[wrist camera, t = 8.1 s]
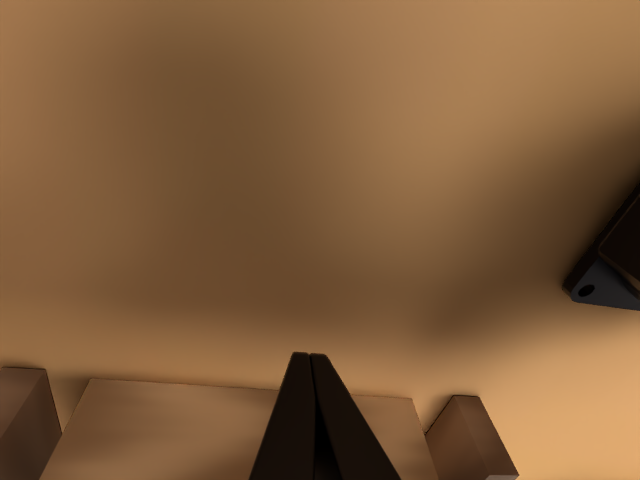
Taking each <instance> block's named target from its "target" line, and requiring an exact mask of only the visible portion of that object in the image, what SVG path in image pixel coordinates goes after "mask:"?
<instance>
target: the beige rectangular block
mask: <svg viewBox="0 0 640 480" xmlns="http://www.w3.org/2000/svg"><path fill="white" fill-rule="evenodd" d="M278 393H279V390H265V389H249V388H234V387H218V386H202V385H186V384H171V383H155V382H139V381H124V380H108V379H92V378H91V379H90V381H89V383H88V385H87V387H86V389H85V391H84V393H83V395H82V397H81V399H80V401H79V403H78V405H77V406H76V408H75V410H74V412H73V414H72V416H71V418H70V420H69V422H68V424H67V426H66V428H65V430H64V432H63V434H62V436H61V438H60V440H59V442H58V444H57V446H56V448H55V450H54V451H53V453H52V455H51V457H50V459H49V461H48V463H47V465H46V467H45V469H44V471H43V473H42V475H41V477H40V479H39V480H248V478H249V475H250V472H251V470H252V467H253V464H254V461H255V458H256V455H257V452H258V450H259V447H260V444H261V441H262V438H263V435H264V432H265V430H266V427H267V424H268V421H269V418H270V415H271V413H272V410H273V407H274V404H275V401H276V398H277V395H278ZM351 397H352V398H353V400H354V401H355V403H356V405H357V406H358V408H359V410H360V411H361V413H362V415H363V416H364V418H365V420H366V421H367V423H368V425H369V426H370V428H371V429H372V431H373V433H374V434H375V436H376V438H377V439H378V441H379V443H380V444H381V446H382V448H383V449H384V451H385V453H386V454H387V456H388V458H389V459H390V461H391V462H392V464H393V466H394V467H395V469H396V471H397V472H398V474H399V476H400V477H401V479H402V480H439V478H438V475H437V472H436V469H435V466H434V463H433V460H432V457H431V454H430V451H429V448H428V445H427V442H426V439H425V436H424V433H423V430H422V427H421V424H420V421H419V418H418V415H417V412H416V409H415V406H414V403H413V400H412V399H406V398H391V397H375V396H359V395H351Z"/></svg>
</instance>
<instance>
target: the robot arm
mask: <svg viewBox="0 0 640 480" xmlns="http://www.w3.org/2000/svg"><path fill="white" fill-rule="evenodd" d="M562 290H563V291H564V293H565V294H566V295H567V296H568V297H569V298H570V299H571V300H572V301H574V302H578V303H585V304H592V305H600V306H607V307H615V308H622V309H630V310H637V311H640V183H639V185H638V186H637V187H636V188H635V190H634V191H633V192H632V194H631V195H630V196H629V198H628V199H627V200H626V201H625V203H624V204H623V205H622V207H621V208H620V209H619V211H618V212H617V213H616V214H615V216H614V217H613V218H612V220H611V221H610V222H609V224H608V225H607V226H606V227H605V229H604V230H603V231H602V233H601V234H600V235H599V237H598V238H597V239H596V240H595V242H594V243H593V244H592V246H591V247H590V248H589V250H588V251H587V252H586V253H585V255H584V256H583V257H582V259H581V260H580V261H579V263H578V264H577V265H576V266H575V268H574V269H573V270H572V272H571V273H570V274H569V276H568V277H567V278H566V279H565V281H564V283H563V285H562ZM248 480H402V479H401V477H400V476H399V474H398V472H397V471H396V469H395V467H394V466H393V464H392V462H391V461H390V459H389V458H388V456H387V454H386V453H385V451H384V449H383V448H382V446H381V444H380V443H379V441H378V439H377V438H376V436H375V434H374V433H373V431H372V429H371V428H370V426H369V425H368V423H367V421H366V420H365V418H364V416H363V415H362V413H361V411H360V410H359V408H358V406H357V405H356V403H355V401H354V400H353V398H352V397H351V395H350V393H349V392H348V390H347V388H346V387H345V385H344V383H343V382H342V380H341V378H340V377H339V375H338V373H337V372H336V370H335V369H334V367H333V365H332V364H331V362H330V360H329V359H328V357H327V356H326V355H325V354H320V353H310V354H308V353H306V352H293V353H292V356H291V358H290V361H289V364H288V367H287V370H286V373H285V375H284V378H283V381H282V384H281V387H280V390H279V393H278V395H277V398H276V401H275V404H274V407H273V410H272V413H271V415H270V418H269V421H268V424H267V427H266V430H265V432H264V435H263V438H262V441H261V444H260V447H259V450H258V452H257V455H256V458H255V461H254V464H253V467H252V470H251V472H250V475H249V478H248Z"/></svg>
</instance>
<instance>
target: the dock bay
mask: <svg viewBox="0 0 640 480" xmlns="http://www.w3.org/2000/svg"><path fill="white" fill-rule="evenodd" d="M61 436H62V434H61V430H60V426H59V422H58V418H57V414H56V410H55V407H54V403H53V399H52V395H51V391H50V387H49V383H48V379H47V376H46V372H45V370H40V369H24V368H8V367H2V369H1V370H0V480H39V479H40V477H41V475H42V473H43V471H44V469H45V467H46V465H47V463H48V461H49V459H50V457H51V455H52V453H53V451H54V450H55V448H56V446H57V444H58V442H59V440H60V438H61ZM425 439H426V442H427V445H428V448H429V451H430V454H431V457H432V460H433V463H434V466H435V469H436V472H437V475H438V478H439V480H515V479H516V478H517V477H518V476H519V474H518V472H517V470H516V468H515V466H514V464H513V462H512V460H511V458H510V456H509V454H508V452H507V450H506V448H505V446H504V444H503V443H502V441H501V439H500V437H499V435H498V433H497V431H496V429H495V427H494V425H493V423H492V421H491V419H490V417H489V415H488V413H487V411H486V409H485V407H484V405H483V403H482V401H481V399H480V398H479V397H469V396H453V398H452V399H451V400H450V402H449V403H448V405H447V406H446V407H445V409H444V410H443V412H442V413H441V414H440V416H439V417H438V419H437V420H436V421H435V423H434V424H433V425H432V427H431V428H430V430H429V431H428V432H427V434H426V435H425Z"/></svg>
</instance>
